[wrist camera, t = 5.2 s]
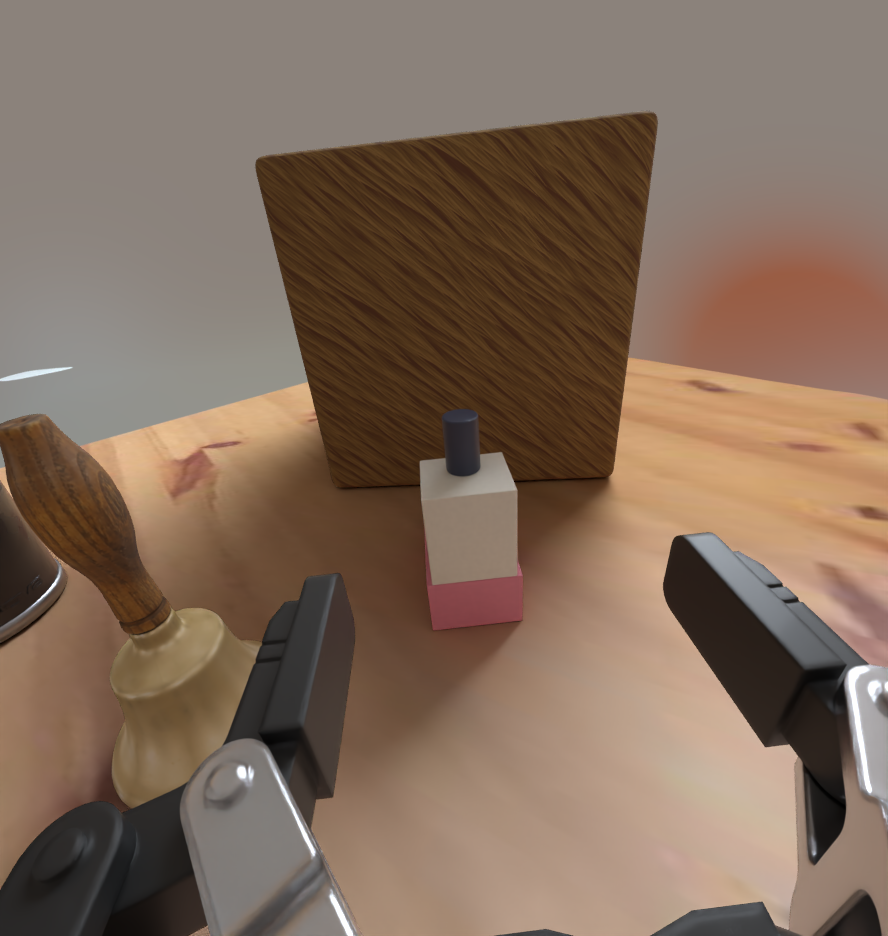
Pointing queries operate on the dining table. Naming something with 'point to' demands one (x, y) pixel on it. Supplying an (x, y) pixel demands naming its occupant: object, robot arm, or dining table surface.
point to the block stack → (470, 531)
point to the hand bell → (131, 615)
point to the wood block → (466, 291)
